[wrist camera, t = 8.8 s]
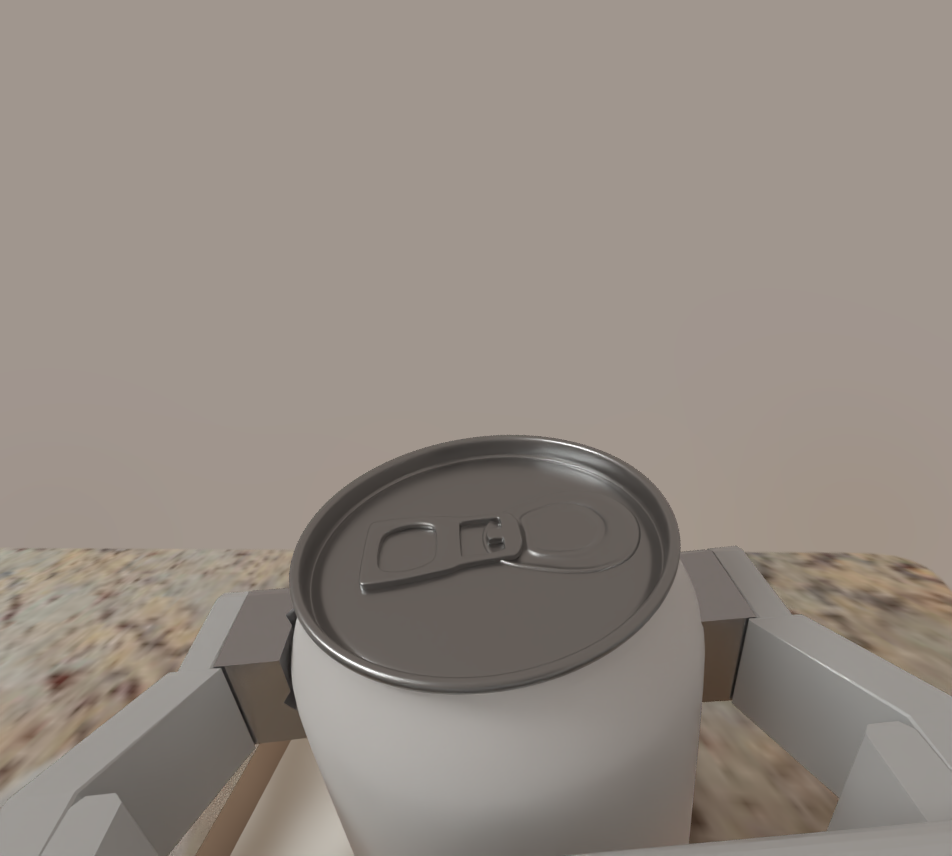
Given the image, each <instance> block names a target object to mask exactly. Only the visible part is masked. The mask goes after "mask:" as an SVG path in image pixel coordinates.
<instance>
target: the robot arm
mask: <svg viewBox="0 0 952 856" xmlns="http://www.w3.org/2000/svg"><path fill="white" fill-rule="evenodd" d="M680 561H681V562H682V564H683V566H684V568H685V570H686V572H687V574H688V576H689V578H690V580H691V582H692V585H693V587H694V590H695V593H696V597H697V600H698V604H699V609H700V616H701V623H702V626H703V628H704V641H705V662H704V682H703V697H702V702H713V701H729V700H732V704H733V705H734V706H736V707H737V708H738V709H739V710H740V711H741V712H742V713H744V714H745V715H746V716H747V717H748V718H749V719H750V720H751V721H753V722H754V723H755V724H756V725H757V726H758V727H759V728H760V729H762V730H763V731H764V732H765V733H766V734H767V735H768V736H770V737H771V738H772V739H773V740H774V741H775V742H776V743H777V744H779V745H780V746H781V747H782V748H783V749H784V750H785V751H787V752H788V753H789V754H790V755H791V756H792V757H793V758H794V759H796V760H797V761H798V762H799V763H800V764H801V765H802V766H803V767H805V768H806V769H807V770H808V771H809V772H810V773H811V774H813V775H814V776H815V777H816V778H817V779H818V780H819V781H820V782H822V783H823V784H824V785H825V786H826V787H827V788H828V789H830V790H831V791H832V792H833V793H834V794H835V795H836V796H837V797H839V800H838V803H837V805H836V808H835V811H834V813H833V816H832V818H831V821H830V824H829V826H828V829H827V831H826V832H815V833H804V834H793V835H783V836H772V837H761V838H750V839H739V840H728V841H717V842H706V843H695V844H684V845H673V846H662V847H651V848H640V849H630V850H619V851H608V852H597V853H586V854H575V855H564V856H952V696H950V695H948V694H947V693H945V692H943V691H941V690H939V689H937V688H936V687H934V686H932V685H930V684H928V683H926V682H925V681H923V680H921V679H919V678H917V677H915V676H914V675H912V674H910V673H908V672H906V671H904V670H903V669H901V668H899V667H897V666H895V665H893V664H892V663H890V662H888V661H886V660H884V659H883V658H881V657H879V656H877V655H875V654H873V653H872V652H870V651H868V650H866V649H864V648H862V647H861V646H859V645H857V644H855V643H853V642H851V641H850V640H848V639H846V638H844V637H842V636H840V635H839V634H837V633H835V632H833V631H831V630H829V629H828V628H826V627H824V626H822V625H820V624H819V623H817V622H815V621H813V620H811V619H809V618H808V617H806V616H804V615H802V614H799V615H792V614H791V612H790V611H789V610H788V608H787V607H786V606H785V605H784V603H783V602H782V601H781V599H780V598H779V597H778V595H777V594H776V593H775V591H774V590H773V589H772V587H771V586H770V585H769V584H768V582H767V581H766V580H765V578H764V577H763V576H762V574H761V573H760V572H759V570H758V569H757V568H756V567H755V565H754V564H753V563H752V561H751V560H750V559H749V557H748V556H747V555H746V553H745V552H744V551H743V550H742V549H741V548H739V547H738V546H729V547H720V548H710V549H707V550H695V551H685V552H680ZM296 620H297V615H296V613H295V610H294V608H293V604H292V601H291V596H290V589H289V588H283V589H269V590H254V591H250V592H233V593H224V594H223V595H221V596H220V597H219V598H218V599H217V600H216V602H215V604H214V605H213V607H212V609H211V611H210V613H209V615H208V617H207V618H206V620H205V622H204V624H203V626H202V628H201V629H200V631H199V633H198V635H197V637H196V639H195V640H194V642H193V644H192V646H191V648H190V650H189V652H188V653H187V655H186V657H185V659H184V661H183V663H182V664H181V666H180V668H179V670H178V672H171V673H167V674H166V675H165V676H164V677H162V678H161V679H160V680H159V681H157V682H156V683H155V684H154V685H152V686H151V687H150V688H148V689H147V690H146V691H145V692H143V693H142V694H141V695H140V696H138V697H137V698H136V699H134V700H133V701H132V702H131V703H129V704H128V705H127V706H126V707H124V708H123V709H122V710H121V711H119V712H118V713H117V714H115V715H114V716H113V717H112V718H110V719H109V720H108V721H107V722H105V723H104V724H103V725H102V726H100V727H99V728H98V729H96V730H95V731H94V732H93V733H91V734H90V735H89V736H88V737H86V738H85V739H84V740H82V741H81V742H80V743H79V744H77V745H76V746H75V747H74V748H72V749H71V750H70V751H69V752H67V753H66V754H65V755H63V756H62V757H61V758H60V759H58V760H57V761H56V762H55V763H53V764H52V765H51V766H49V767H48V768H47V769H46V770H44V771H43V772H42V773H41V774H39V775H38V776H37V777H36V778H34V779H33V780H32V781H30V782H29V783H28V784H27V785H25V786H24V787H23V788H22V789H20V790H19V791H18V792H17V793H15V794H14V795H13V796H11V797H10V798H9V799H8V800H7V801H6V802H5V804H4V805H3V807H2V808H1V809H0V856H168V855H169V853H170V852H171V851H172V850H173V849H174V847H175V846H176V845H177V844H178V842H179V841H180V840H181V839H182V837H183V836H184V835H185V834H186V833H187V831H188V830H189V829H190V828H191V826H192V825H193V824H194V823H195V821H196V820H197V819H198V818H199V817H200V815H201V814H202V813H203V812H204V810H205V809H206V808H207V807H208V805H209V804H210V803H211V802H212V800H213V799H214V798H215V797H216V796H217V794H218V793H219V792H220V791H221V789H222V788H223V787H224V786H225V784H226V783H227V782H228V781H229V780H230V778H231V777H232V776H233V775H234V773H235V772H236V771H237V770H238V768H239V767H240V766H241V765H242V764H243V762H244V761H245V760H246V759H247V757H248V756H249V755H250V754H251V752H252V751H253V750H254V749H255V744H261V743H270V742H278V741H286V740H294V739H302V738H307V735H306V732H305V730H304V727H303V724H302V721H301V718H300V715H299V712H298V708H297V704H296V699H295V695H294V690H293V685H292V677H291V651H292V642H293V635H294V629H295V624H296Z"/></svg>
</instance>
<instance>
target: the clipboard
mask: <svg viewBox="0 0 952 856" xmlns="http://www.w3.org/2000/svg"><path fill="white" fill-rule="evenodd" d="M195 856H354V853H353V851H352V848H351V846H350V843H349V841H348V839H347V836H346V834H345V831H344V829H343V826H342V824H341V821H340V819H339V817H338V814H337V812H336V809H335V807H334V804H333V802H332V799H331V797H330V794H329V792H328V789H327V787H326V784H325V782H324V779H323V777H322V774H321V772H320V769H319V767H318V764H317V762H316V759H315V757H314V754H313V752H312V749H311V746H310V744H309V741H308V738H302V739H294V740H286V741H278V742H270V743H261V744H259V746H258V748H257V749H256V751H255V753H254V755H253V756H252V758H251V760H250V761H249V763H248V765H247V767H246V768H245V770H244V772H243V774H242V775H241V777H240V779H239V781H238V782H237V784H236V786H235V788H234V789H233V791H232V793H231V794H230V796H229V798H228V800H227V801H226V803H225V805H224V807H223V808H222V810H221V812H220V814H219V815H218V817H217V819H216V820H215V822H214V824H213V826H212V827H211V829H210V831H209V833H208V834H207V836H206V838H205V840H204V841H203V843H202V845H201V847H200V848H199V850H198V852H197V853H196V855H195Z"/></svg>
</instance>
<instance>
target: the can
mask: <svg viewBox="0 0 952 856" xmlns="http://www.w3.org/2000/svg"><path fill="white" fill-rule="evenodd" d="M289 589H290V596H291V601H292V604H293V608H294V610H295V613H296V615H297V620H296V624H295V629H294V635H293V642H292V651H291V677H292V685H293V690H294V695H295V699H296V704H297V708H298V712H299V715H300V718H301V721H302V724H303V727H304V730H305V732H306V735H307V738H308V741H309V744H310V746H311V749H312V752H313V754H314V757H315V759H316V762H317V764H318V767H319V769H320V772H321V774H322V777H323V779H324V782H325V784H326V787H327V789H328V792H329V794H330V797H331V799H332V802H333V804H334V807H335V809H336V812H337V814H338V817H339V819H340V821H341V824H342V826H343V829H344V831H345V834H346V836H347V839H348V841H349V843H350V846H351V848H352V851H353V853H354V856H564V855H575V854H586V853H597V852H608V851H619V850H630V849H640V848H651V847H662V846H673V845H684V844H689V837H690V827H691V816H692V806H693V796H694V786H695V775H696V764H697V754H698V743H699V732H700V721H701V709H702V697H703V682H704V662H705V641H704V628H703V626H702V623H701V616H700V609H699V604H698V600H697V597H696V593H695V590H694V587H693V585H692V582H691V580H690V578H689V576H688V574H687V572H686V570H685V568H684V566H683V564H682V562H681V561H680V534H679V529H678V525H677V521H676V518H675V515H674V513H673V511H672V509H671V507H670V505H669V503H668V502H667V500H666V498H665V497H664V496H663V494H662V493H661V492H660V490H659V489H658V488H657V487H656V486H655V485H654V484H653V483H652V482H651V481H650V480H649V479H648V478H647V477H646V476H645V475H643V474H642V473H641V472H639V471H638V470H637V469H635V468H634V467H632V466H631V465H629V464H628V463H626V462H624V461H622V460H621V459H619V458H617V457H615V456H612V455H611V454H608V453H606V452H603V451H601V450H598V449H595V448H592V447H589V446H586V445H583V444H579V443H575V442H571V441H567V440H562V439H556V438H548V437H541V436H527V435H496V436H483V437H473V438H466V439H461V440H455V441H449V442H445V443H441V444H437V445H433V446H429V447H426V448H422V449H419V450H416V451H413V452H410V453H407V454H405V455H402V456H400V457H397V458H395V459H393V460H390V461H388V462H386V463H384V464H382V465H380V466H378V467H376V468H374V469H372V470H370V471H368V472H367V473H365V474H363V475H362V476H360V477H358V478H357V479H355V480H354V481H352V482H351V483H349V484H348V485H347V486H345V487H344V488H343V489H341V490H340V491H339V492H338V493H336V494H335V495H334V496H333V497H332V498H331V499H330V500H329V501H328V502H327V503H326V504H325V505H324V506H323V507H322V508H321V509H320V510H319V511H318V512H317V513H316V514H315V516H314V517H313V518H312V520H311V521H310V522H309V524H308V525H307V527H306V528H305V530H304V531H303V533H302V535H301V537H300V539H299V541H298V543H297V545H296V548H295V551H294V554H293V557H292V561H291V566H290V573H289Z"/></svg>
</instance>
